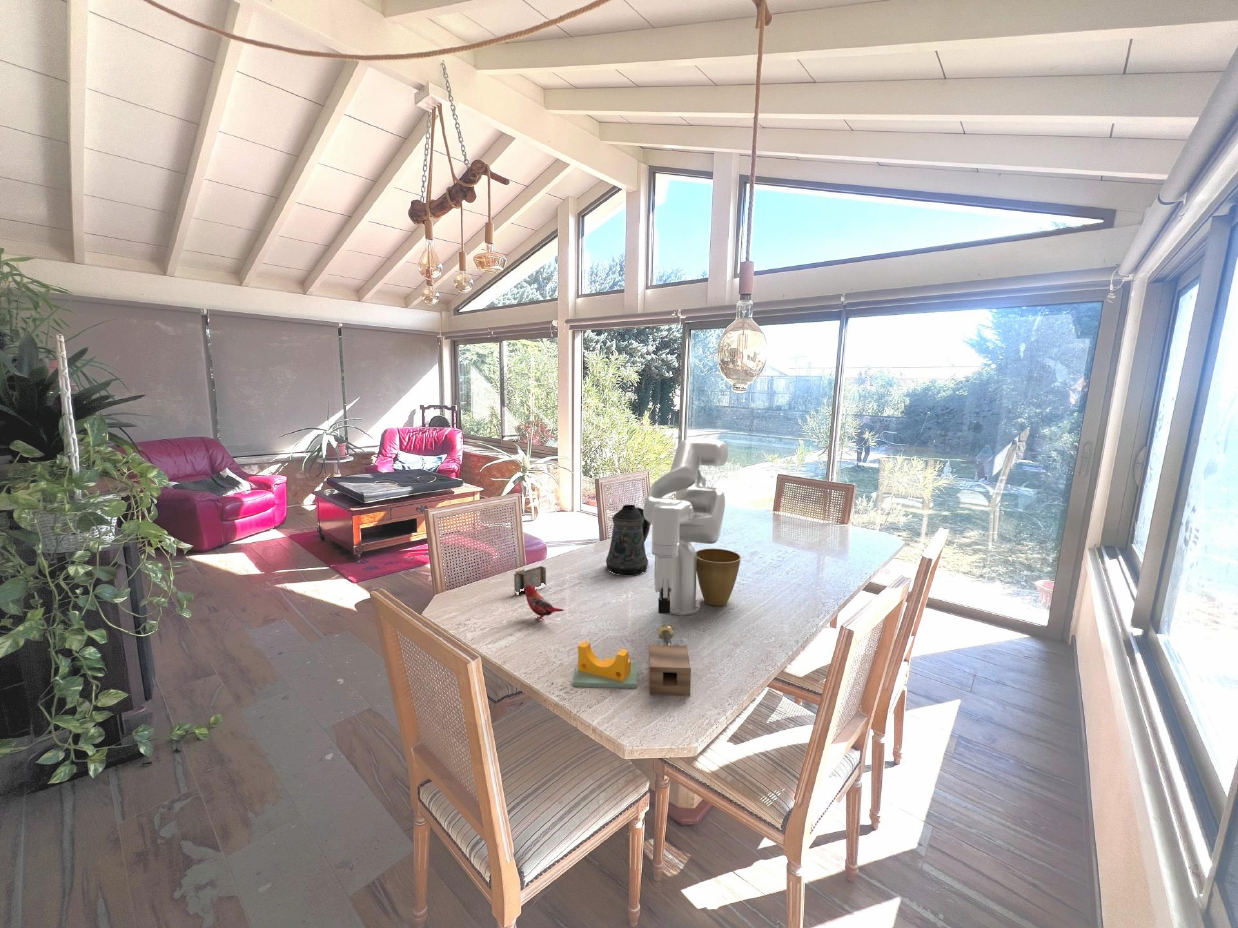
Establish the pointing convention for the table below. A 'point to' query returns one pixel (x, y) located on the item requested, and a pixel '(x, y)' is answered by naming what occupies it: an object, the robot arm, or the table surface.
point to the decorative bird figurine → (538, 603)
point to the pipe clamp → (603, 663)
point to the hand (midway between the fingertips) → (664, 612)
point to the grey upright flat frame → (529, 578)
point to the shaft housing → (669, 670)
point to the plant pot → (717, 574)
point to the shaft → (665, 634)
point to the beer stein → (628, 542)
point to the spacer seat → (605, 679)
